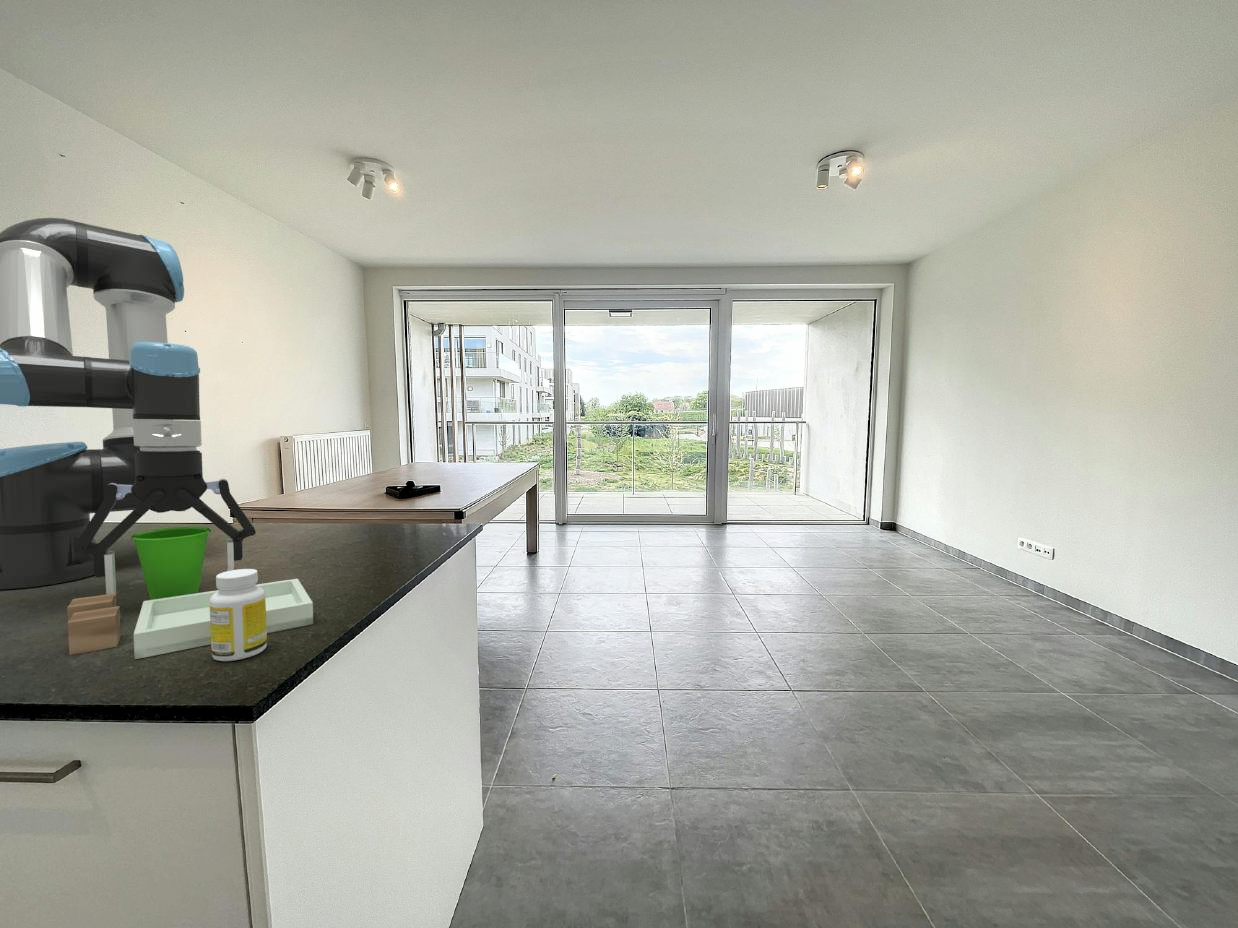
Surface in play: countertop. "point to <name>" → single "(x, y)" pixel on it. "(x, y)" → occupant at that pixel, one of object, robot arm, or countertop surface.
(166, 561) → the cup
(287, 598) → the tray
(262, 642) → the supplement bottle
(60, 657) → the countertop surface
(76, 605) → the walnut block
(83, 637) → the walnut block
